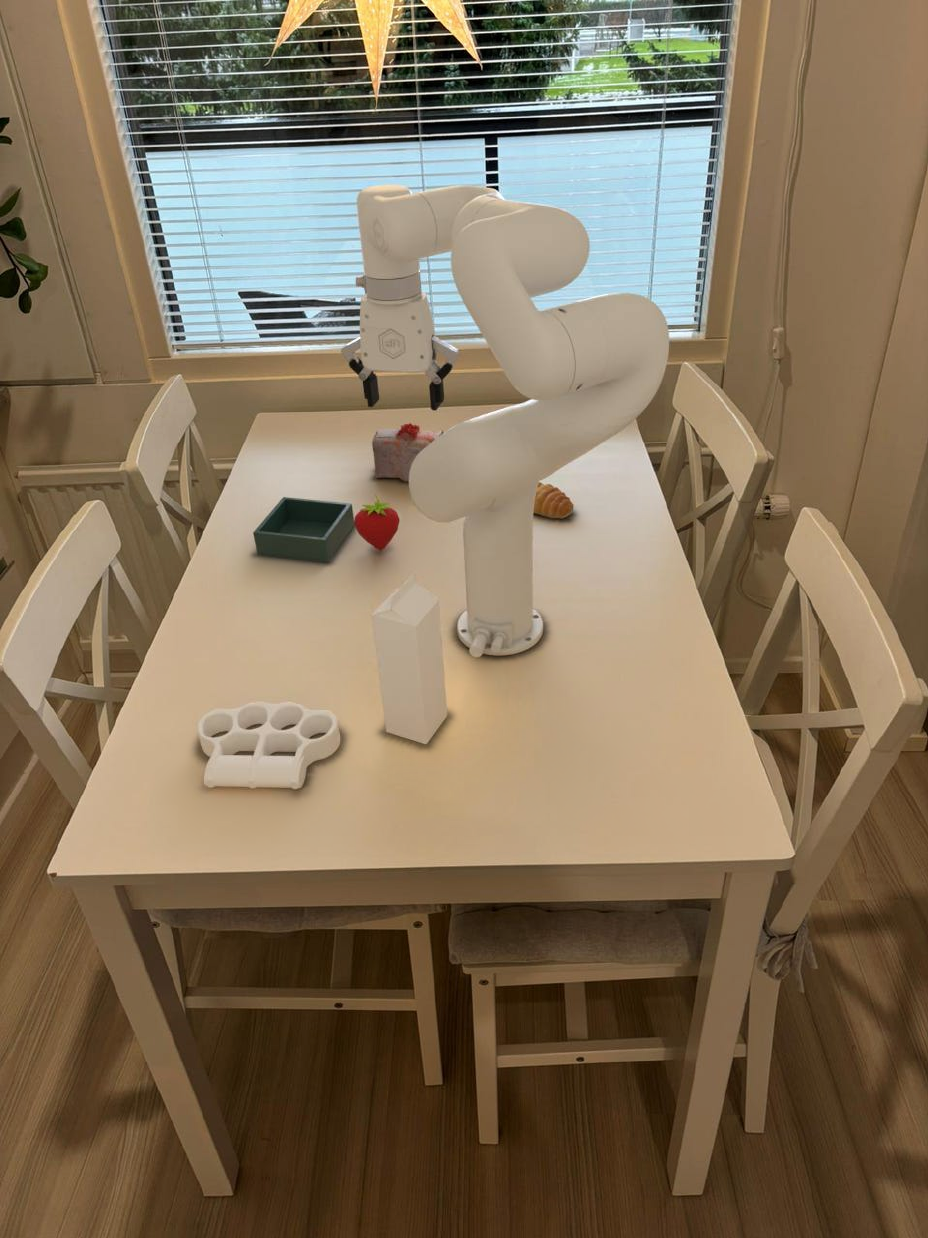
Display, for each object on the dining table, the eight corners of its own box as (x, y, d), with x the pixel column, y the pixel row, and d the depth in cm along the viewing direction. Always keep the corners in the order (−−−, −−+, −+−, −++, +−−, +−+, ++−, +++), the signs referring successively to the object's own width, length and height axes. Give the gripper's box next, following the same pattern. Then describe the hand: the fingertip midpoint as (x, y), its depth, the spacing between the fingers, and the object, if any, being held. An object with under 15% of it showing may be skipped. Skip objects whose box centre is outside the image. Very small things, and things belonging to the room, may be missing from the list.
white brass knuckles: (181, 793, 113) (215, 712, 125) (327, 796, 111) (347, 713, 123) (175, 773, 111) (210, 693, 123) (323, 776, 109) (344, 694, 121)
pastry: (582, 510, 164) (582, 491, 161) (557, 525, 160) (557, 506, 158) (542, 494, 169) (542, 475, 167) (517, 508, 165) (516, 489, 163)
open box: (328, 562, 153) (325, 540, 151) (257, 554, 156) (252, 532, 154) (354, 525, 163) (351, 503, 160) (287, 518, 166) (283, 496, 163)
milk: (386, 733, 120) (366, 593, 107) (408, 704, 124) (392, 566, 111) (427, 745, 118) (412, 604, 105) (448, 715, 122) (437, 576, 109)
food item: (449, 465, 180) (446, 417, 174) (443, 484, 174) (440, 436, 168) (380, 463, 182) (375, 416, 176) (372, 483, 175) (366, 435, 170)
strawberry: (357, 541, 159) (351, 489, 153) (401, 538, 159) (396, 486, 153) (357, 560, 154) (350, 507, 148) (402, 556, 154) (397, 503, 148)
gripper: (323, 292, 125) (340, 412, 135) (447, 295, 121) (455, 418, 131) (343, 276, 131) (358, 392, 141) (461, 278, 127) (468, 398, 137)
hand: (404, 405), depth 136 cm, fingers open, 9 cm apart
